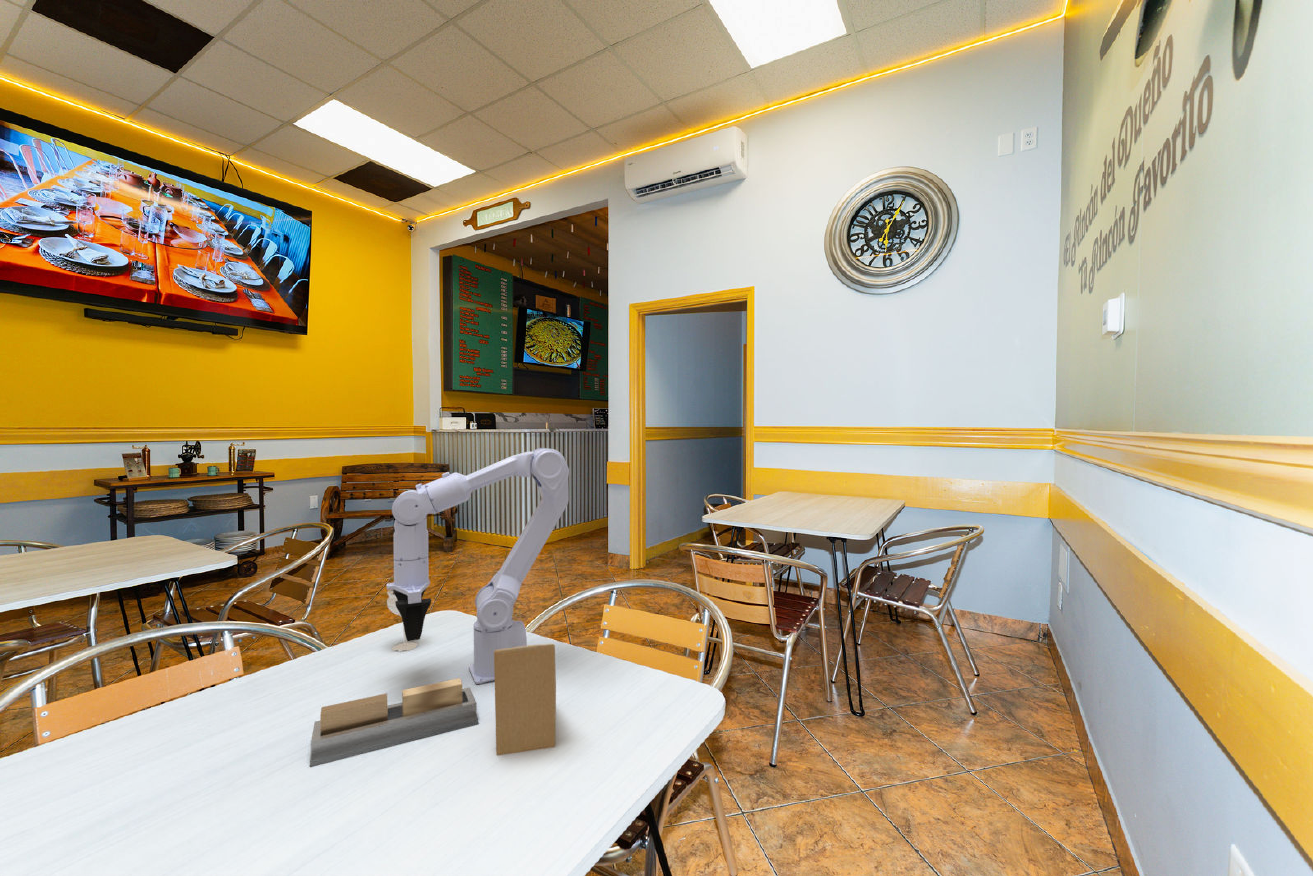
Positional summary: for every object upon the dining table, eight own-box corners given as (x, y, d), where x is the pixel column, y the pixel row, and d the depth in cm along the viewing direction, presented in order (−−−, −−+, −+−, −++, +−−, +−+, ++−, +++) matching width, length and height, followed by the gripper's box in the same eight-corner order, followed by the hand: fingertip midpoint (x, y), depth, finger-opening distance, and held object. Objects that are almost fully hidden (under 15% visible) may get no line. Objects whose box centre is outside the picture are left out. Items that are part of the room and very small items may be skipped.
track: (468, 699, 91) (468, 668, 91) (478, 723, 83) (478, 689, 83) (315, 734, 80) (315, 699, 80) (310, 766, 72) (309, 727, 72)
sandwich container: (551, 697, 92) (551, 610, 91) (557, 747, 77) (556, 643, 77) (499, 703, 89) (498, 614, 89) (494, 757, 75) (493, 649, 75)
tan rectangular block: (460, 705, 87) (459, 678, 87) (462, 712, 85) (462, 684, 85) (402, 719, 83) (402, 690, 83) (403, 726, 81) (403, 696, 81)
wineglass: (379, 652, 111) (379, 594, 111) (400, 640, 118) (400, 585, 118) (409, 654, 110) (409, 595, 110) (428, 641, 116) (428, 586, 116)
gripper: (385, 552, 101) (385, 624, 101) (388, 568, 88) (388, 651, 88) (425, 548, 104) (426, 617, 104) (434, 563, 91) (434, 643, 91)
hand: (411, 632), depth 96 cm, fingers open, 7 cm apart
